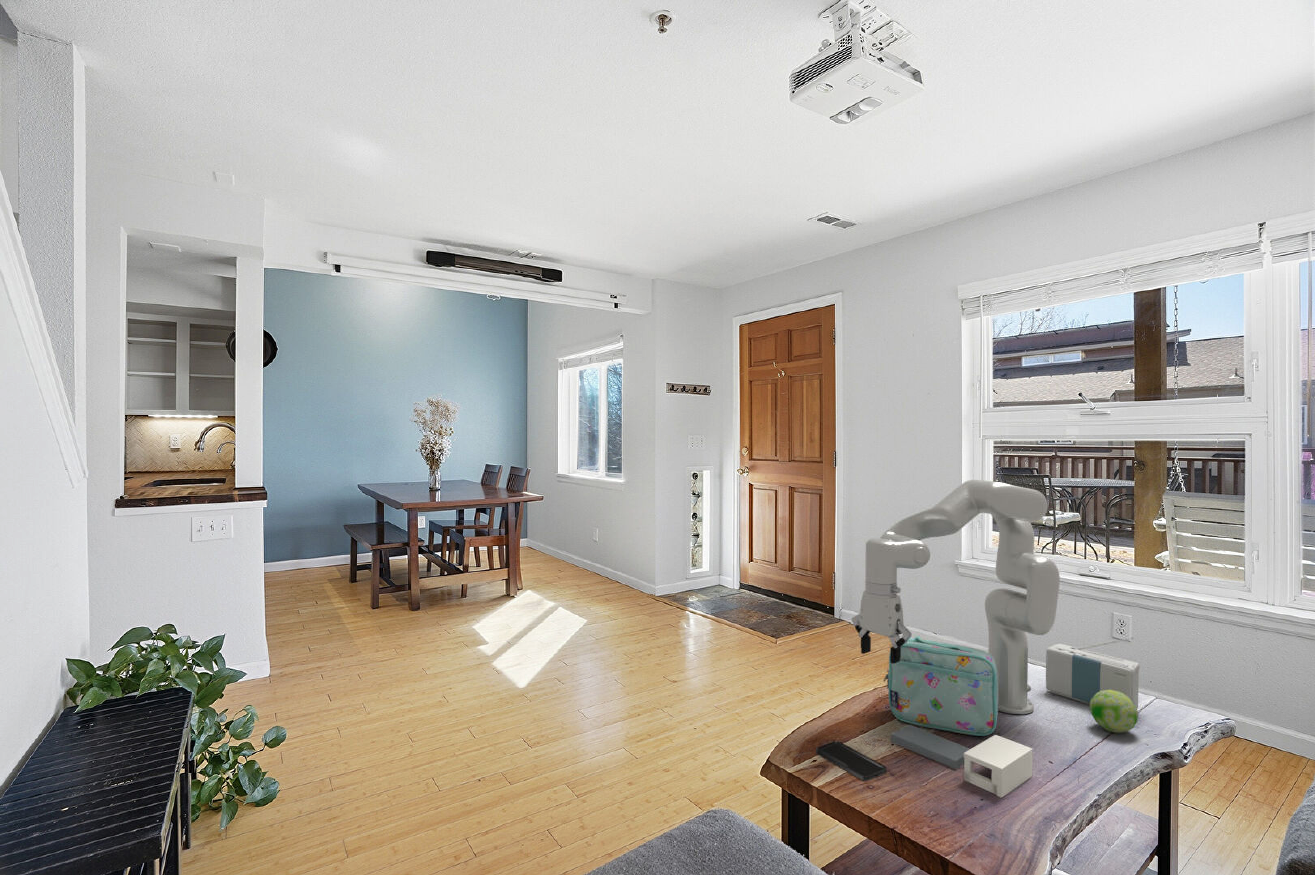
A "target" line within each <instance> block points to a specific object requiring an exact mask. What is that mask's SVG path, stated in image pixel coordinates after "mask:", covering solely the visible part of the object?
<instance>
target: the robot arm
mask: <svg viewBox="0 0 1315 875" xmlns="http://www.w3.org/2000/svg"><path fill="white" fill-rule="evenodd" d="M1048 507H1049V505H1048V501H1047V499H1046V496H1045V495H1044V494H1043V493H1042V492H1041V491H1039V490H1037V489H1033V488H1027V487H1022V486H1017V485H1012V484H1008V483H1005V482H999V481H991V480H981V479H969V480H967V481H964V482H963V483H961V484H960V485H959V486H958V487H956V488H955V489H954V490H952V491H951V492H950V493H949V494H947V496H945V497H944V498H942V499H941V500H939V502H938V503H937V504H935V505H934V506H932V507H931V508H928V509H925V510H922V511H920V512H918V513H915V514H913V515H910V516H907V517H905V518H904V519H903V518H902V519H901V520H898V522H896V523H894V525H892V526H890V528H889V529H887V530H886V531H885V532H884V533H883V534H882V535H881V536H880V537H878V538H870V539H868V540H867V541H866V543H865V576H864V577H865V580H864V588H865V589H864V590H863V592H862V597H861V600H860V601H861V602H860V608H859V609H860V610H859V611H860V612H859V613H858V614H857V615H855V616H853V617H851V621H852V624H853V626H854V628H855V631H856V632H857V633H858V637H859V638H860V653H861V655H862V654H863V655H864V654H866V653H870V652H871V649H872V648H871V643H872V640H871V639H872V638H871V636H870V634H871V633H874V634H877V635H881V636H884V637H887V638H888V639H889V641H890V643H891V645H892V646H891V647H890V648H889V649H890V650H889V654H890V662H891V663H892V664H894V663H897V662H899V661H900V659H901V646H903V644H905V643H906V642H907V641H908V639H909V638H911V637H912V635H913V634H912V632H911V630H909V629H908V628H907V627H906V626H905V625H904V612H903V605H902V601H901V595H899V594H900V593H901V592H902V590H901V589H902V588H900V587H898V583H897V582H898V569H911V570H913V569H914V570H915V569H916V570H917V569H921V568H923V567H925V566H926V565H927V564H928V563H929V561H930V559H931V550H930V548H929V547H928V545H927V544H926V543H925V542H924V541H923V540H925V539H929V538H930V539H931V538H939V537H940V538H941V537H945V536H951V535H955V534H956V533H958V532H959V531H960V530H962V529H963V528H964V527H965V526H966V525H967V524H969V522H971V521H972V520H973V519H974V518H976V517H978V515H980V514H990V515H991V517H992V518H993V519H994V521H995V523H996V525H997V527H998V545H997V551H996V552H997V553H996V554H997V555H996V561H995V562H996V563H995V575H996V577H997V580H999V581H1000V582H1002V583H1005V584H1007V585H1009V586H1013V587H1016V588H1021V589H1024V590H1026V593H1023V592H1021V591H1020V592H1019V591H1016V590H1013V589H1008V588H995V589H993V590H991V591H989V593H988V594H987V595H986V597H985V600H984V610H985V617H986V621H987V628H988V630H987V631H988V645H987V646H988V649H987V650H988V652H987V653H989V654H990V655H991V656H992V657H993V658H994V660H995V662H996V667H997V675H998V712H1002V713H1006V714H1013V715H1027V714H1031V713H1032V712H1034V710H1035V705H1034V703H1033V702H1032V701H1031V700H1030V699H1028V693H1029V692H1031V690H1032V687H1031V686H1030V684H1028V678H1029V677H1028V672H1029V671H1028V669H1029V668H1028V667H1029V666H1028V665H1029V664H1028V663H1029V662H1028V661H1029V643H1028V642H1029V641H1028V638H1027V635H1026V633H1029V634H1031V635H1035V636H1043V635H1046V634H1048V633H1050V631H1051V630H1052V628H1053V627H1054V624H1055V620H1056V615H1057V608H1058V599H1059V592H1060V583H1061V582H1060V580H1061V578H1060V572H1059V569H1058V566H1057V565H1056V563H1054V560H1051V559H1050V558H1048V557H1045V556H1042V555H1038V554H1034V550H1035V531H1034V528H1033V526H1032V522H1033V523H1034V522H1037V521H1040V520H1042V518H1044V517H1045V515H1046V514H1047V512H1048ZM900 635H902V636H900ZM896 641H897V642H896Z"/></svg>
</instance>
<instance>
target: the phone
mask: <svg viewBox="0 0 1315 875" xmlns="http://www.w3.org/2000/svg"><path fill="white" fill-rule="evenodd" d="M815 753H816V754H817V755H819V756H820V757H822V758H823V759H825V760H827V761H829V762H830V763H832V764H834V765H835V766H838V767H839V768H840V769H842V770H844V771H846V772H847V773H849V774H850V775H853V776H854V777H856V778H858V779H860V780H861V781H865V782H866V781H870V780H873V779H876V778H879V776H883V775H885V774H887V772H888V770H887V769H888V768H887V767H886V766H885V765H883V764H881V763H880V762H878V761H877V760H874V759H873V758H871V757H869V756H867V755H865V754H863V753H861V752H859V751H858V750H856V749H854V748H852V747H851V746H848V745H847V744H845V743H843V742H841V741H837V740H835V741H832V742H829V743H826V744H823V745H820V746H818V747H816V748H815Z"/></svg>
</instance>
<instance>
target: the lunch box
mask: <svg viewBox="0 0 1315 875" xmlns="http://www.w3.org/2000/svg"><path fill="white" fill-rule="evenodd" d="M896 642H897V641H896ZM886 680H887V681H886ZM883 682H887V683H886V686H887V687H886V689H888V702H889V708H890V711H891V713H892V714H893V715H894V717H895V718H896V719H897V720H899V721H902V722H905V723H908V725H912V726H914V725H915V726H919V727H923V728H928V729H935V730H939V731H943V732H944V731H945V732H946V731H947V732H951V733H958V734H961V735H962V734H963V735H969V736H978V737H979V736H981V737H982V736H983V737H984V736H990V735H991V734H993V733H994V732H995V729H996V728H997V723H998V716H999V714H998V713H999V711H998V675H997V667H996V662H995V660H994V658H993V657H992V656H991V655H990V654H989V653H988V652H987V651H984V650H982V649H978V648H973V647H969V646H963V645H958V644H953V643H947V642H942V641H937V640H928V639H922V638H921V637H920V635H916V636H915V637H914V638H911V637H910V638H909V639H908V641H907V642H906V643H905V644H903V646H901V659H900V661H899V662H897V663H894V664H892V663H891V662H890V653H889V655H888V669H887V673H886V674H885V676H884V679H883Z"/></svg>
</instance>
